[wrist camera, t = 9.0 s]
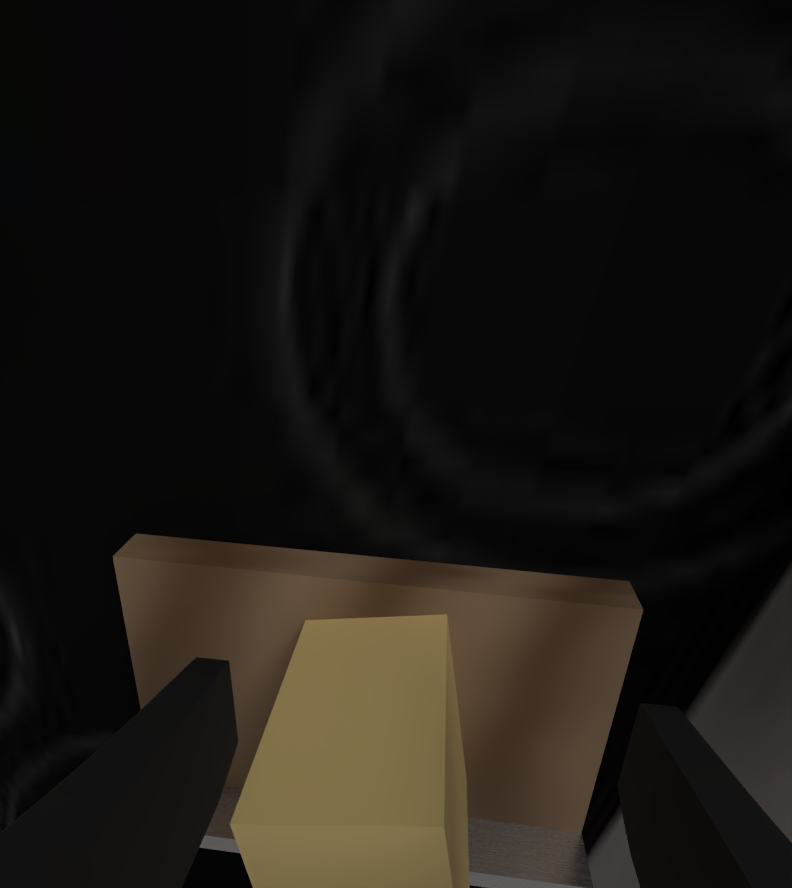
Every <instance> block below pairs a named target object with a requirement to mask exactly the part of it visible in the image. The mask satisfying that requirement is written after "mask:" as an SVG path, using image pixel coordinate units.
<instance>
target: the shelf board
mask: <svg viewBox="0 0 792 888" xmlns="http://www.w3.org/2000/svg"><path fill="white" fill-rule="evenodd" d="M113 560H114V566H115V571H116V577H117V582H118V588H119V593H120V599H121V604H122V610H123V615H124V620H125V626H126V631H127V637H128V642H129V648H130V653H131V659H132V664H133V670H134V675H135V680H136V686H137V691H138V697H139V702H140V708H141V709H142V708H143V707H144V706H145V705H146V704H148V703H149V702H150V701H151V700H152V699H153V698H154V697H155V696H156V695H157V694H158V693H159V692H160V691H161V690H162V689H163V688H164V687H165V686H166V685H167V684H168V683H169V682H170V681H171V680H173V679H174V678H175V677H176V676H177V675H178V674H179V673H180V672H181V671H182V670H183V669H184V668H185V667H186V666H187V665H188V664H189V663H190V662H191V661H193V660H194V659H195V658H196V657H200V658H209V659H219V660H229V664H230V672H231V681H232V690H233V699H234V707H235V716H236V725H237V734H238V744H237V748H236V751H235V754H234V757H233V760H232V763H231V767H230V770H229V773H228V776H227V779H226V782H225V785H224V786H228V787H236V788H243V787H244V784H245V782H246V779H247V776H248V774H249V771H250V768H251V766H252V763H253V760H254V757H255V755H256V752H257V749H258V747H259V744H260V741H261V739H262V736H263V733H264V731H265V728H266V725H267V722H268V720H269V717H270V714H271V712H272V709H273V706H274V704H275V701H276V698H277V695H278V693H279V690H280V687H281V685H282V682H283V679H284V677H285V674H286V671H287V668H288V666H289V663H290V660H291V658H292V655H293V652H294V650H295V647H296V644H297V642H298V639H299V636H300V633H301V631H302V628H303V625H304V623H305V620H324V619H348V618H372V617H396V616H421V615H445V614H447V618H448V627H449V635H450V643H451V652H452V660H453V669H454V677H455V685H456V694H457V702H458V710H459V719H460V727H461V736H462V744H463V752H464V761H465V769H466V777H467V815H468V818H474V819H482V820H490V821H498V822H505V823H513V824H521V825H528V826H536V827H544V828H551V829H559V830H567V831H574V832H582V828H583V825H584V821H585V818H586V814H587V810H588V807H589V803H590V800H591V796H592V792H593V789H594V785H595V782H596V778H597V774H598V771H599V767H600V764H601V760H602V756H603V753H604V749H605V746H606V742H607V738H608V735H609V731H610V728H611V724H612V720H613V717H614V713H615V710H616V706H617V703H618V699H619V695H620V692H621V688H622V685H623V681H624V677H625V674H626V670H627V667H628V663H629V659H630V656H631V652H632V649H633V645H634V641H635V638H636V634H637V631H638V627H639V623H640V620H641V616H642V613H643V608H642V606H641V604H640V602H639V600H638V598H637V596H636V594H635V592H634V590H633V588H632V586H631V584H630V582H629V581H621V580H611V579H600V578H590V577H580V576H569V575H559V574H549V573H538V572H528V571H518V570H507V569H497V568H487V567H476V566H466V565H455V564H445V563H435V562H424V561H414V560H404V559H393V558H383V557H373V556H362V555H352V554H342V553H331V552H321V551H311V550H300V549H290V548H280V547H269V546H259V545H249V544H238V543H228V542H218V541H207V540H197V539H186V538H176V537H166V536H155V535H145V534H135V535H134V536H133V537H132V538H131V539H130V540H129V541H128V542H127V543H126V544H125V545H124V546H123V547H122V548H121V549H120V550H119V551H118V552H117V553H116V554H115V555H114V556H113Z"/></svg>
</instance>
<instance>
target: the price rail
mask: <svg viewBox="0 0 792 888" xmlns="http://www.w3.org/2000/svg"><path fill="white" fill-rule="evenodd" d="M242 790H243V788H236V787H228V786H224V788H223V791H222V794H221V797H220V800H219V803H218V806H217V808H216V810H215V813H214V815H213V817H212V820H211V822H210V824H209V826H208V829H207V831H206V833H205V836H204V838H203V840H202V843H201V845H200V848H207V849H214V850H221V851H228V852H236V853H240V851H239V848H238V845H237V843H236V840H235V837H234V834H233V832H232V829H231V826H230V822H231V820H232V817H233V814H234V811H235V809H236V806H237V803H238V801H239V798H240V795H241V793H242ZM468 855H469V885H473V886H481V887H488V888H593V885H592V880H591V876H590V871H589V866H588V861H587V857H586V852H585V847H584V842H583V838H582V833H581V832H574V831H567V830H559V829H551V828H544V827H536V826H528V825H521V824H513V823H505V822H498V821H490V820H482V819H474V818H468Z"/></svg>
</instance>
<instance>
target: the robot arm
mask: <svg viewBox="0 0 792 888" xmlns="http://www.w3.org/2000/svg"><path fill="white" fill-rule="evenodd" d="M237 744H238V734H237V725H236V716H235V707H234V699H233V690H232V681H231V672H230V664H229V660H219V659H209V658H200V657H196V658H195V659H194V660H193V661H191V662H190V663H189V664H188V665H187V666H186V667H185V668H184V669H183V670H182V671H181V672H180V673H179V674H178V675H177V676H176V677H175V678H174V679H173V680H171V681H170V682H169V683H168V684H167V685H166V686H165V687H164V688H163V689H162V690H161V691H160V692H159V693H158V694H157V695H156V696H155V697H154V698H153V699H152V700H151V701H150V702H149V703H148V704H146V705H145V706H144V707H143V708H142V709H141V710H140V711H139V712H138V713H137V714H136V715H135V716H134V717H133V718H132V719H131V720H130V721H128V722H127V723H126V724H125V725H124V726H123V727H122V728H121V729H120V730H119V731H118V732H116V733H115V734H114V735H113V736H112V737H111V738H110V739H109V740H108V741H107V742H106V743H104V744H103V745H102V746H101V747H100V748H99V749H98V750H97V751H96V752H95V753H93V754H92V755H91V756H90V757H89V758H88V759H87V760H86V761H85V762H83V763H82V764H81V765H80V766H79V767H78V768H77V769H76V770H74V771H73V772H72V773H71V774H70V775H69V776H67V777H66V778H65V779H64V780H63V781H61V782H60V783H59V784H58V785H57V786H56V787H54V788H53V789H52V790H51V791H50V792H49V793H47V794H46V795H45V796H44V797H43V798H41V799H40V800H39V801H38V802H37V803H36V804H34V805H33V806H32V807H31V808H30V809H29V810H27V811H26V812H25V813H24V814H23V815H21V816H20V817H19V818H18V819H16V820H15V821H14V822H13V823H11V824H10V825H9V826H8V827H6V828H5V829H4V830H3V831H2V832H0V888H182V886H183V883H184V881H185V879H186V877H187V874H188V872H189V870H190V868H191V865H192V863H193V861H194V859H195V856H196V854H197V852H198V849H199V847H200V845H201V843H202V840H203V838H204V836H205V833H206V831H207V829H208V826H209V824H210V822H211V820H212V817H213V815H214V813H215V810H216V808H217V806H218V803H219V800H220V797H221V794H222V791H223V788H224V785H225V782H226V779H227V776H228V773H229V770H230V767H231V763H232V760H233V757H234V754H235V751H236V748H237ZM617 787H618V792H619V797H620V803H621V808H622V813H623V819H624V824H625V829H626V834H627V838H628V843H629V848H630V853H631V857H632V860H633V864H634V867H635V871H636V874H637V877H638V881H639V884H640V887H641V888H792V843H791V842H790V841H789V839H788V838H787V837H786V836H785V835H784V834H783V833H782V831H781V830H780V829H779V828H778V827H777V826H776V824H775V823H774V822H773V821H772V820H771V819H770V818H769V816H768V815H767V814H766V813H765V812H764V811H763V809H762V808H761V807H760V806H759V805H758V803H757V802H756V801H755V800H754V799H753V798H752V796H751V795H750V794H749V793H748V792H747V790H746V789H745V788H744V787H743V786H742V784H741V783H740V782H739V781H738V780H737V778H736V777H735V776H734V775H733V774H732V772H731V771H730V770H729V769H728V768H727V766H726V765H725V764H724V763H723V761H722V760H721V759H720V758H719V757H718V755H717V754H716V753H715V752H714V751H713V749H712V748H711V747H710V746H709V744H708V743H707V742H706V741H705V740H704V738H703V737H702V736H701V735H700V733H699V732H698V731H697V730H696V729H695V727H694V726H693V725H692V724H691V723H690V721H689V720H688V719H687V718H686V717H685V715H684V714H683V713H682V712H681V711H680V709H679V708H678V707H674V706H664V705H654V704H645V703H640V705H639V709H638V712H637V716H636V720H635V723H634V727H633V730H632V734H631V738H630V741H629V745H628V748H627V752H626V756H625V759H624V763H623V766H622V770H621V774H620V777H619V781H618V784H617Z"/></svg>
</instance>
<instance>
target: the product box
mask: <svg viewBox="0 0 792 888" xmlns="http://www.w3.org/2000/svg"><path fill="white" fill-rule="evenodd" d="M230 826H231V829H232V832H233V834H234V837H235V840H236V843H237V845H238V848H239V851H240V853H241V856H242V859H243V862H244V864H245V867H246V870H247V873H248V875H249V878H250V881H251V884H252V886H253V888H469V855H468V815H467V777H466V769H465V761H464V752H463V744H462V736H461V727H460V719H459V710H458V702H457V694H456V685H455V677H454V669H453V660H452V652H451V643H450V635H449V627H448V618H447V614H445V615H421V616H396V617H372V618H348V619H324V620H305V623H304V625H303V628H302V631H301V633H300V636H299V639H298V642H297V644H296V647H295V650H294V652H293V655H292V658H291V660H290V663H289V666H288V668H287V671H286V674H285V677H284V679H283V682H282V685H281V687H280V690H279V693H278V695H277V698H276V701H275V704H274V706H273V709H272V712H271V714H270V717H269V720H268V722H267V725H266V728H265V731H264V733H263V736H262V739H261V741H260V744H259V747H258V749H257V752H256V755H255V757H254V760H253V763H252V766H251V768H250V771H249V774H248V776H247V779H246V782H245V784H244V787H243V790H242V793H241V795H240V798H239V801H238V803H237V806H236V809H235V811H234V814H233V817H232V820H231V822H230Z"/></svg>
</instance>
